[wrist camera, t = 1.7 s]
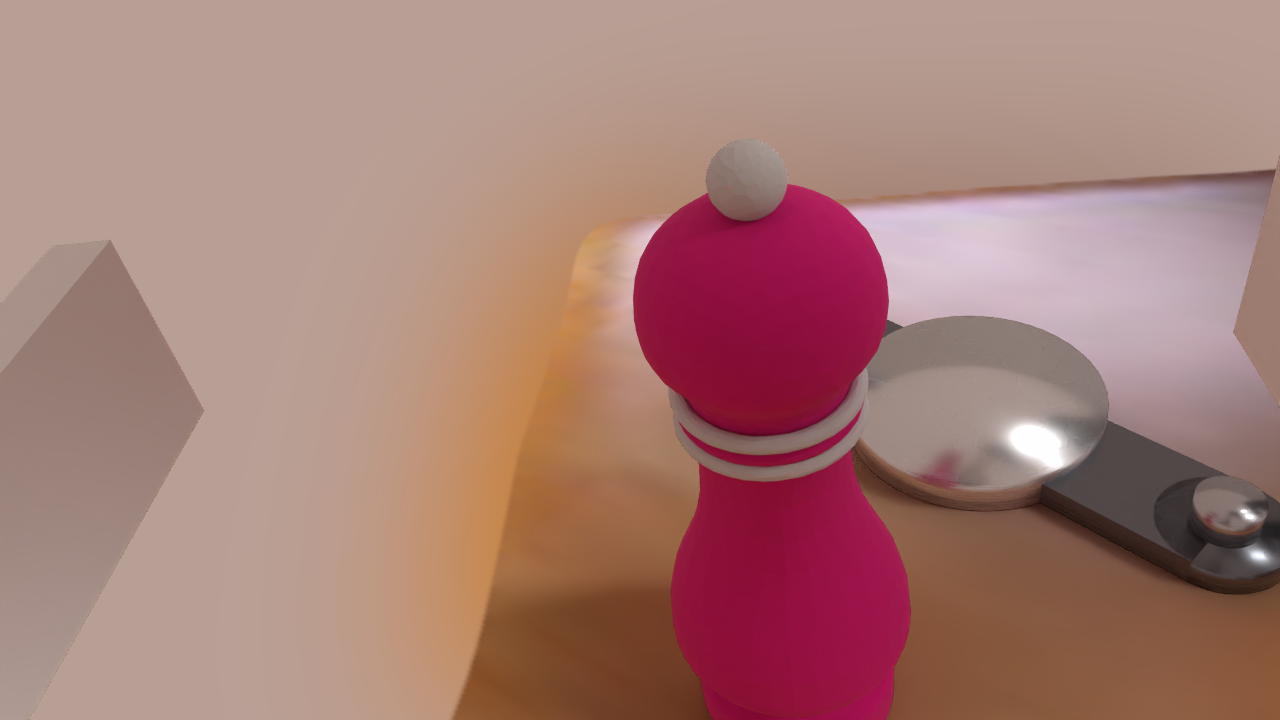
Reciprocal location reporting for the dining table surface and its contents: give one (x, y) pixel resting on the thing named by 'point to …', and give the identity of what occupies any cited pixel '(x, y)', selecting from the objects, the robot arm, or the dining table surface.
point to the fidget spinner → (1053, 450)
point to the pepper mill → (775, 444)
